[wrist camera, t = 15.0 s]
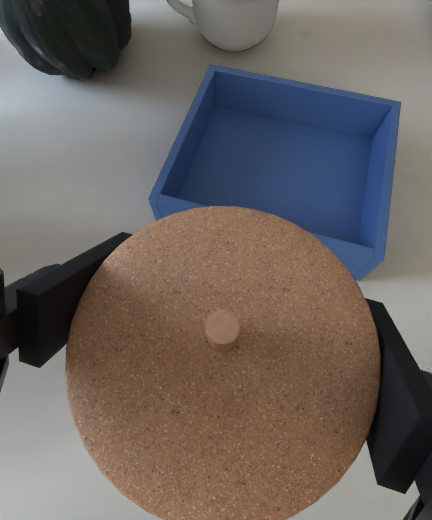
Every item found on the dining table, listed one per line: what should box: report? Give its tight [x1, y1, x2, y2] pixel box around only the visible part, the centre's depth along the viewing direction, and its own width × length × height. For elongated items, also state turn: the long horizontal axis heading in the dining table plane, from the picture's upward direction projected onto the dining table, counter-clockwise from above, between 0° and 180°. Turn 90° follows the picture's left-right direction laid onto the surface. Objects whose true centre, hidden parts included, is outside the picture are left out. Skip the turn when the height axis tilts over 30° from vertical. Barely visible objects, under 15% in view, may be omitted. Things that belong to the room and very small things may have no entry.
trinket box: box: [65, 206, 381, 520], centre depth 14 cm, size 11×11×9 cm
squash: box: [0, 0, 132, 80], centre depth 36 cm, size 14×15×15 cm
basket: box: [149, 65, 401, 281], centre depth 31 cm, size 20×18×5 cm
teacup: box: [166, 0, 279, 51], centre depth 39 cm, size 14×11×8 cm
